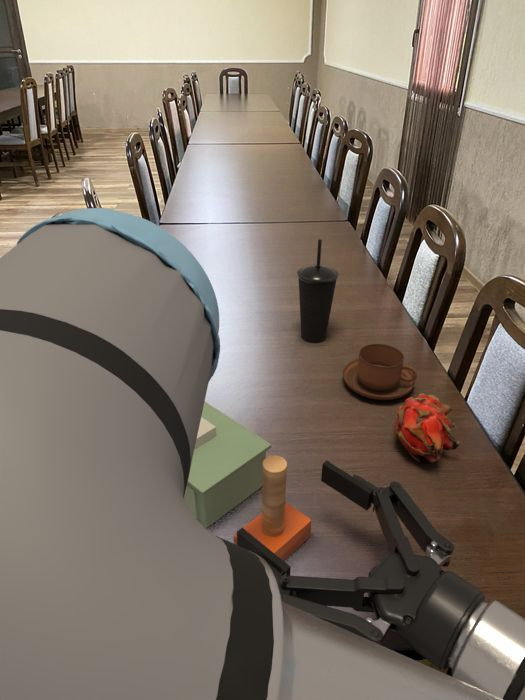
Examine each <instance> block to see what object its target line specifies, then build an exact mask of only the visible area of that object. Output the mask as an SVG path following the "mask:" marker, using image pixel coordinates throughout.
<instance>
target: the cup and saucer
mask: <svg viewBox="0 0 525 700" xmlns="http://www.w3.org/2000/svg"><path fill="white" fill-rule="evenodd" d="M404 362H405V356H404V353H403V352H402V351H401V350H400V349H398V348H396V347H394V346H392V345H389V344H384V343H370V344H367V345H364V346H363V347H361V348H360V350H359V352H358V359H355V360H352V361H350V362H348V363H347V364H346V365H345V366H344V368H343V370H342V378H343V382H344V383H345V385H346V386H347V387H348V388H349V389H351V390H352V391H353V392H354V393H356V394H358V395H360V396H362V397H365V398H367V399H371V400H377V401H391V400H396V399H400V398H402V397H405V396H407V395H408V394H409V393H410V392H411V391H412V390H413V388H414V386H415V382H416V380H417V378H418V371H417V369H416V368H414V366H411V365H408V364H404Z"/></svg>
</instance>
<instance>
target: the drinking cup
mask: <svg viewBox="0 0 525 700" xmlns="http://www.w3.org/2000/svg"><path fill="white" fill-rule="evenodd" d="M322 244H323V241H322V239H320V238H319V239H317V251H316V264H309V265H305V266H302V267H300V268H299V269H298V270H297V271H296V276H297V278H298V291H299V292H298V296H299V315H300V317H299V318H300V335H301V338H302V340H303V341H304V342H307V343H311V344H319V343H322V342H324V341H325V340H326V337H327V333H328V328H329V322H330V316H331V312H332V311H331V310H332V306H333V301H334V295H335V290H336V284H337V280H338V279H339V272H338V270H336V269H335V268H333V267H330V266H328V265H324V264H321V260H322V259H321V258H322V257H321V256H322Z"/></svg>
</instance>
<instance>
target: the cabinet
mask: <svg viewBox="0 0 525 700" xmlns="http://www.w3.org/2000/svg"><path fill="white" fill-rule="evenodd" d="M201 417H202V418H204V419H205V420H207V421H208V422H210V423H211V424H213V425H214V426H216V436H215V437H213V438H212V439H210V440H208V441H207V442H205V443H204V444H202V445H200V446H199V447H197V448H196V449H194V453H193V458H192V463H191V468H190V473H189V478H188V482H187V486H186V491H185V495H184V500H185V502H186V504H187V506H188V507H189V509H190V511H191V513H192V515H193V516H194V517H195V518H196V519H197V520H198V522H199V523H200V524H201V525H202V526H203V527H204V528H205V529H208V528H209V527H211V525H213V524H215V523H216V522H217V521H218V520H220V519H221V518H223V517H224V516H225V515H227V513H229V512H230V511H231V510H233V509H234V508H235V507H237V506H238V505H240V504H241V503H242V502H243V501H245V500H246V499H248V498H249V497H250V496H251V495H253V494H254V493H255V492H256V491H258V490H259V489H261V488H262V476H263V461H264V459H265V458H267V452H268V451H269V450H271V449H272V444H271V443H270V442H268V441H267V440H265V439H264V438H262V437H261V436H259V435H257V434H256V433H255V432H253V431H252V430H250V429H248V428H247V427H245V426H244V425H242V424H241V423H239V422H238V421H235V419H233V418H231V417H229V416H228V415H226V413H223V412H222V411H220V410H219V409H217V408H216V407H214V406H212V405H211V404H209V403H208V402H206V401H205V402H204V406H203V411H202V416H201Z"/></svg>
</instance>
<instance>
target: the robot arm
mask: <svg viewBox="0 0 525 700" xmlns="http://www.w3.org/2000/svg"><path fill="white" fill-rule="evenodd" d="M219 332H220V309H219V303H218V299H217V295H216V292H215V289H214V287H213V284H212V282H211V280H210V278H209V276H208V274H207V273H206V271H205V269H204V268H203V266H202V265H201V263H200V262H199V261H198V259H197V258H196V257H195V255H194V254H193V253H192V251H190V250H189V249H188V248H187V246H185V245H184V244H183V243H182V242H181V241H180V240H179V239H177V238H176V236H175V235H172V233H170V232H169V231H167V230H166V229H164V228H162V227H161V226H159V225H158V224H156V223H154V222H153V221H150V220H148V219H145V218H143V217H141V216H139V215H134V214H131V213H129V212H124V211H117V210H116V209H113V208H104V207H103V208H102V207H89V208H80V209H75V210H70V211H68V212H67V211H66V212H64V213H62V214H59V215H57V216H55V217H53V218H52V217H51V218H48V219H44V220H41V221H40V222H38V223H36V224H35V225H33V226H32V227H30V228H29V229H27V230H26V231H25V232H24V233H23V234H22V235H21V237H20V238H19V239H18V241H17V242H16V244H15V246H13V247H12V248H11V249H10V250H9V251H7V252H6V253H5V254H4V255H2V256H1V257H0V700H525V618H524V617H522V616H521V615H520V614H518V613H517V612H516V611H514V610H512V609H511V608H509V607H508V606H506V605H505V604H503V603H502V602H501V601H499V600H497V599H495V600H490V601H489V602H487V601H486V595H484V591H483V590H482V589H480V588H478V587H477V586H475V585H474V584H473V583H471V582H469V581H468V580H466V579H465V578H463V577H462V576H460V575H458V573H456V572H454V571H452V570H446V571H445V570H443V569H442V567H443V568H444V567H446V568H447V567H448V566H450V564H451V560H452V556H453V553H454V550H455V544H454V543H453V542H451V541H450V540H449V539H448V538H446V537H445V536H444V535H443V534H441V533H439V532H438V530H437V529H436V528H435V527H434V526H433V524H432V523H431V522H430V521H429V519H428V518H427V517H426V515H425V513H424V512H422V510H421V509H420V508H419V506H418V505H417V503H416V502H415V501H414V500H413V498H412V497H411V496H410V495H409V493H408V492H407V491H406V489H405V488H404V487H403V485H402V484H401V483H400V482H399V481H392V482H390V484H389V486H386V487H383V486H379V487H378V486H376V485H375V484H374V483H373V484H372V483H371V482H370V481H368V480H366V479H364V478H363V477H361V476H359V475H356V474H354V475H353V476H352V475H351V474H349V473H347V472H346V471H344V470H343V469H342V468H340V467H338V466H336V465H335V464H333V463H331V462H330V461H328V460H325V461H324V462H322V463H321V464H322V466H321V477H320V481H321V482H323V483H324V484H325V485H327V486H328V487H330V488H331V489H333V490H335V491H336V492H338V493H339V494H341V495H342V496H343V497H345V498H347V499H348V500H350V501H351V502H353V503H354V504H356V505H357V506H359V507H360V508H362V509H363V510H365V511H366V512H367V511H369V510H370V509H371V508H372V512H374V513H375V515H376V518H377V520H378V523H379V527H380V529H381V532H382V535H383V538H384V540H385V544H386V546H387V549H388V552H386V553H385V554H384V555H383V557H382V558H381V561H380V562H379V563H378V564H376V565H375V566H373V567H372V568H371V569H370V570H369V571H368V575H367V576H357V577H355V578H354V579H349V578H332V577H317V576H303V575H291V570H292V569H291V568H292V567H291V565H289V564H288V563H287V562H286V561H285V560H284V561H283V560H282V559H281V558H279V557H278V556H277V555H276V554H274V553H273V552H272V551H271V550H269V549H268V548H267V547H266V546H265V545H263V544H262V543H261V542H260V541H258V540H257V539H256V538H255V537H253V536H252V535H251V534H250V533H248V532H247V531H246V530H245V529H244V528H243V527H241V528H239V530H237V531H236V533H237V545H235V544H234V542H231V541H229V540H227V539H224V538H222V537H220V536H218V535H216V534H214V533H213V532H211V531H210V530H208V528H206V529H205V528H204V527H203V526H202V525H201V524H200V523H199V522H198V520H197V519H196V518H195V517H194V516H193V515H192V513H191V511H190V509H189V507H188V506H187V504H186V502H185V500H184V495H185V491H186V486H187V482H188V478H189V473H190V468H191V463H192V458H193V453H194V449H195V444H196V439H197V435H198V430H199V425H200V421H201V416H202V411H203V406H204V402H206V396H207V392H208V387H209V383H210V381H211V379H212V378H213V377H214V375H215V373H216V370H217V368H218V364H219V359H220V354H221V339H220V338H221V337H220V334H219ZM399 520H400V521H401V522H402V524H403V525H404V527H405V528H406V530H407V531H408V532H409V534H410V535H411V537H412V538H413V540H415V542H416V543H417V545H418V546H419V548H420V549H421V550H422V551H423V552H424V554H425V555H421V554H419V555H418V554H415V553H414V550H413V547H412V545H411V543H410V541H409V538H408V536H407V535H405V533H404V531H403V528H402V526H401V523H400V521H399ZM365 594H367V596H365ZM334 607H336V608H334ZM338 608H350V609H352V610H353V611H355V612H359V613H360V612H363V613H373V614H374V615H375V619H376V620H375V619H373V618H372V617H370V616H367V617H366V618H363V617H362V616H359V615H357V614H354V613H352V612H351V613H350V612H348V611H345V610H342V609H338ZM388 632H391V633H395V634H397V635H399V636H401V638H402V639H403V640H404V641H405V642H406V643H407V644H408V646H409V647H410V648H411V649H412V650H414V651H415V652H417V653H418V654H419V655H420V656H421V657H423V658H424V659H425V660H426V661H428V662H429V663H430V664H432V665H433V666H434V667H435V668H433V667H430V666H429V665H426V664H424V663H422V662H419V661H417V660H415V659H413V658H410V657H408V656H406V655H404V654H401V653H399V652H397V651H395V650H392V649H390V648H388V647H386V646H384V645H382V643H383V641H384V640H385V638H386V636H387V635H388V634H389V633H388ZM448 668H449V669H450V670H451V672H450V675H449V674H447V673H445V672H442V671H441V670H443V671H445V670H447V669H448ZM437 669H438V670H437Z"/></svg>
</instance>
